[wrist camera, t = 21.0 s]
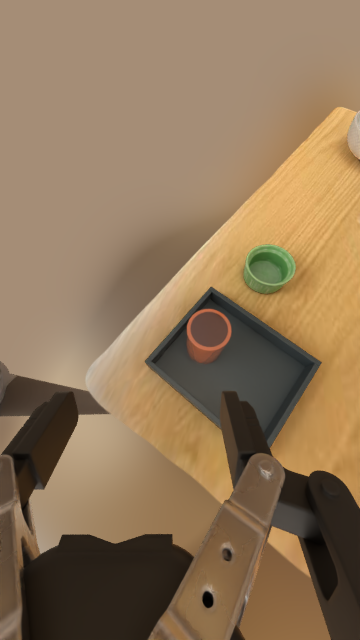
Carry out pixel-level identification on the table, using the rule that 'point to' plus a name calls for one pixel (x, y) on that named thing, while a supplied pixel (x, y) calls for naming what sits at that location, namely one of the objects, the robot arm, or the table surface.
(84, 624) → the robot arm
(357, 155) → the cereal bowl
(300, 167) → the table surface
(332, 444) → the table surface
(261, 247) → the ramekin
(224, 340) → the cup
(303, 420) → the table surface
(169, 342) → the tray
